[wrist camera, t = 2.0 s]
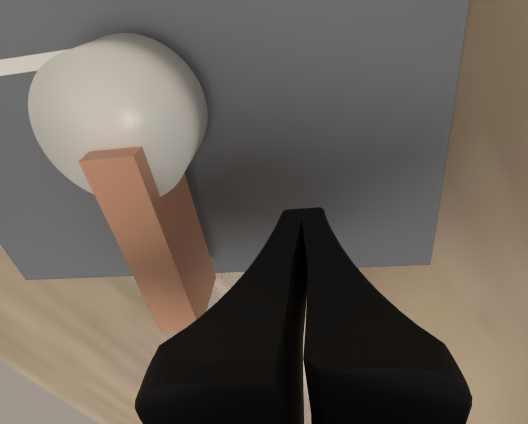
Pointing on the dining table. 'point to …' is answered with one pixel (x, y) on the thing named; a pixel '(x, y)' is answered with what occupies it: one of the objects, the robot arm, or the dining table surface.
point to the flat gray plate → (252, 124)
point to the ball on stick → (133, 159)
